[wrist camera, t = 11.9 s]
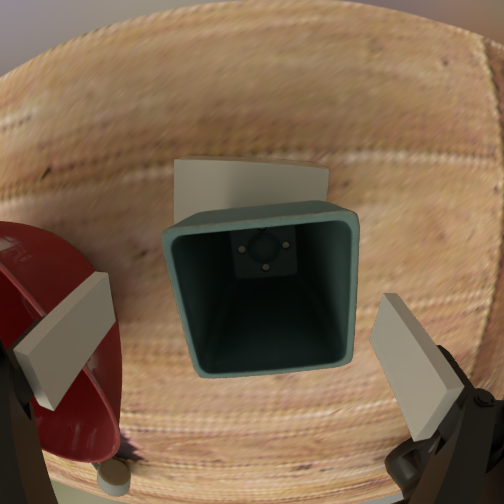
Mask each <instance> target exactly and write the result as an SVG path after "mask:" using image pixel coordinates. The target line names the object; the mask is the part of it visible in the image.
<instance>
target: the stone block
mask: <svg viewBox="0 0 504 504" xmlns="http://www.w3.org/2000/svg"><path fill="white" fill-rule="evenodd" d="M329 172H330V169H328V168H325V167H323V166H321V165H319V164H316V163H311V162H302V161H291V160H280V159H267V158H253V157H235V156H211V155H190V156H186V157H182V158H178V159H174V225H175V224H177V223H178V222H180V221H182V220H184V219H186V218H188V217H190V216H192V215H194V214H196V213H198V212H203V211H211V210H220V209H230V208H239V207H248V206H258V205H268V204H278V203H289V202H299V201H309V200H320V201H325V202H326V199H327V190H328V181H329ZM264 228H265V227H261V228H259V229H260V230H263V229H264ZM282 246H283V247H284V248H288V247H289V243H288V242H284V243H283V245H282ZM238 250H239V252H241V253H243V252H245V251H246V248H245V247H244V246H240V247H239V249H238ZM262 268H263V269H264V270H268V269H269V268H270V267H269V265H268V264H264V265H263V267H262Z"/></svg>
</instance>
